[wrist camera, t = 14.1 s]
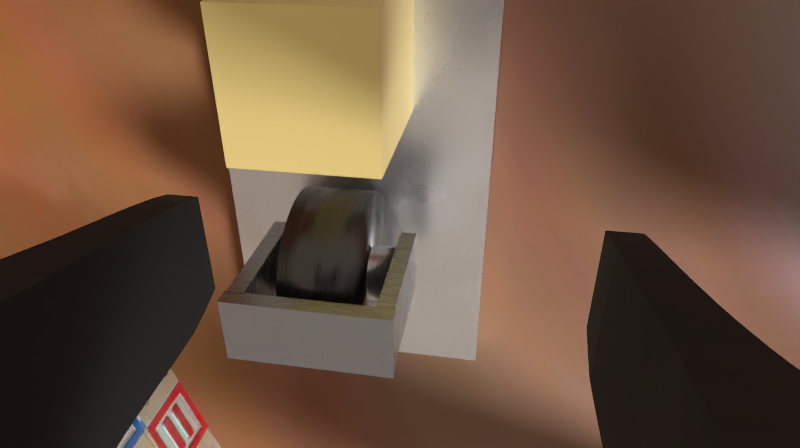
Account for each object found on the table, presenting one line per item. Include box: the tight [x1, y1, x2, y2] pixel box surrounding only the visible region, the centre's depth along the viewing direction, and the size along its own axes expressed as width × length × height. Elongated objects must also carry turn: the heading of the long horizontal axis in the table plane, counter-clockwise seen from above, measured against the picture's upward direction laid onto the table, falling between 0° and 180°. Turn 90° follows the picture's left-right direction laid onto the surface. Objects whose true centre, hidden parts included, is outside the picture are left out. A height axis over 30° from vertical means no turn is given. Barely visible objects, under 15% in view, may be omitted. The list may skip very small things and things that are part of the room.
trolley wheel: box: [217, 0, 504, 378], centre depth 19 cm, size 9×15×7 cm, turn 0°
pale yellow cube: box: [200, 0, 414, 179], centre depth 16 cm, size 4×4×5 cm
